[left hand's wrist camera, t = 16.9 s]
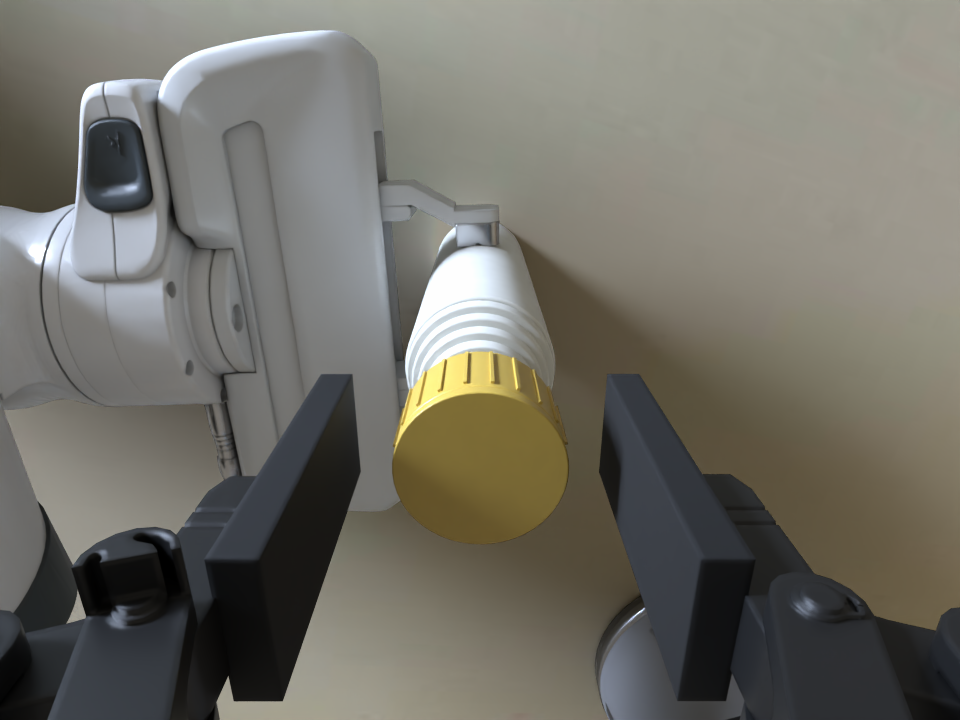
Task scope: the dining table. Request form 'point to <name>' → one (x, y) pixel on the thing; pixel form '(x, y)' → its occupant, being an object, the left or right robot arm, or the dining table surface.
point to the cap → (480, 449)
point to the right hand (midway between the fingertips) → (501, 292)
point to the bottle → (480, 309)
